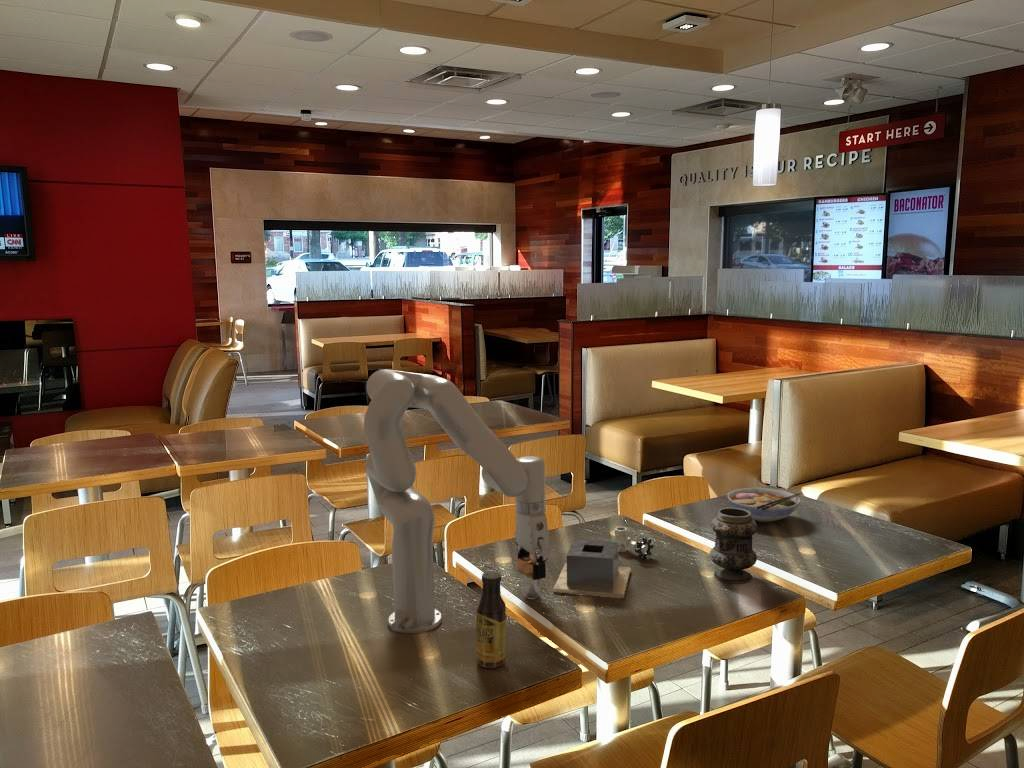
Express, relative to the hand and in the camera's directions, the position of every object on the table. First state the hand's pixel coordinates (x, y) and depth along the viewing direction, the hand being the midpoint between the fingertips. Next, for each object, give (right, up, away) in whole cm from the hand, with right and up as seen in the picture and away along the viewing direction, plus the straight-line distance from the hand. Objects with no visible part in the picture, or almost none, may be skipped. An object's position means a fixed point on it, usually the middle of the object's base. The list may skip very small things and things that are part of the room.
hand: (531, 572), depth 198 cm
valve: (+29, -2, +29) cm, 41 cm away
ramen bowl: (+77, +3, +57) cm, 96 cm away
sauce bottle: (-9, -12, -32) cm, 36 cm away
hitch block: (+17, -5, +9) cm, 19 cm away
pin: (0, -6, +1) cm, 6 cm away
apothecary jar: (+54, -4, +11) cm, 55 cm away
